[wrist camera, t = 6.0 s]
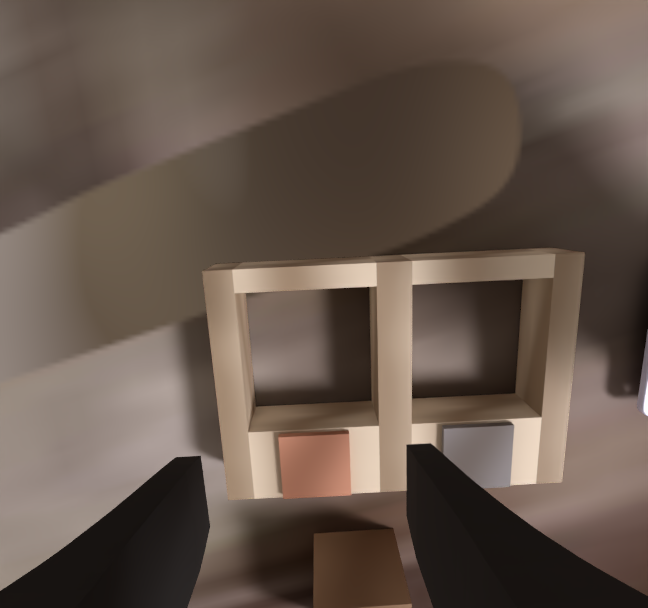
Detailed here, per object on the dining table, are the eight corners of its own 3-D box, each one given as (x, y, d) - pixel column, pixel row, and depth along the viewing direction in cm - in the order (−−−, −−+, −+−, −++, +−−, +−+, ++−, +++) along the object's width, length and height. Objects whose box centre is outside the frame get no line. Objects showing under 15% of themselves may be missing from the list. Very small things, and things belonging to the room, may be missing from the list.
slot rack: (550, 247, 19) (590, 253, 16) (534, 451, 22) (565, 486, 19) (216, 263, 19) (199, 272, 16) (238, 467, 21) (227, 504, 19)
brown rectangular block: (411, 603, 18) (412, 694, 19) (393, 527, 23) (394, 606, 24) (313, 610, 18) (320, 701, 19) (313, 533, 23) (319, 610, 24)
